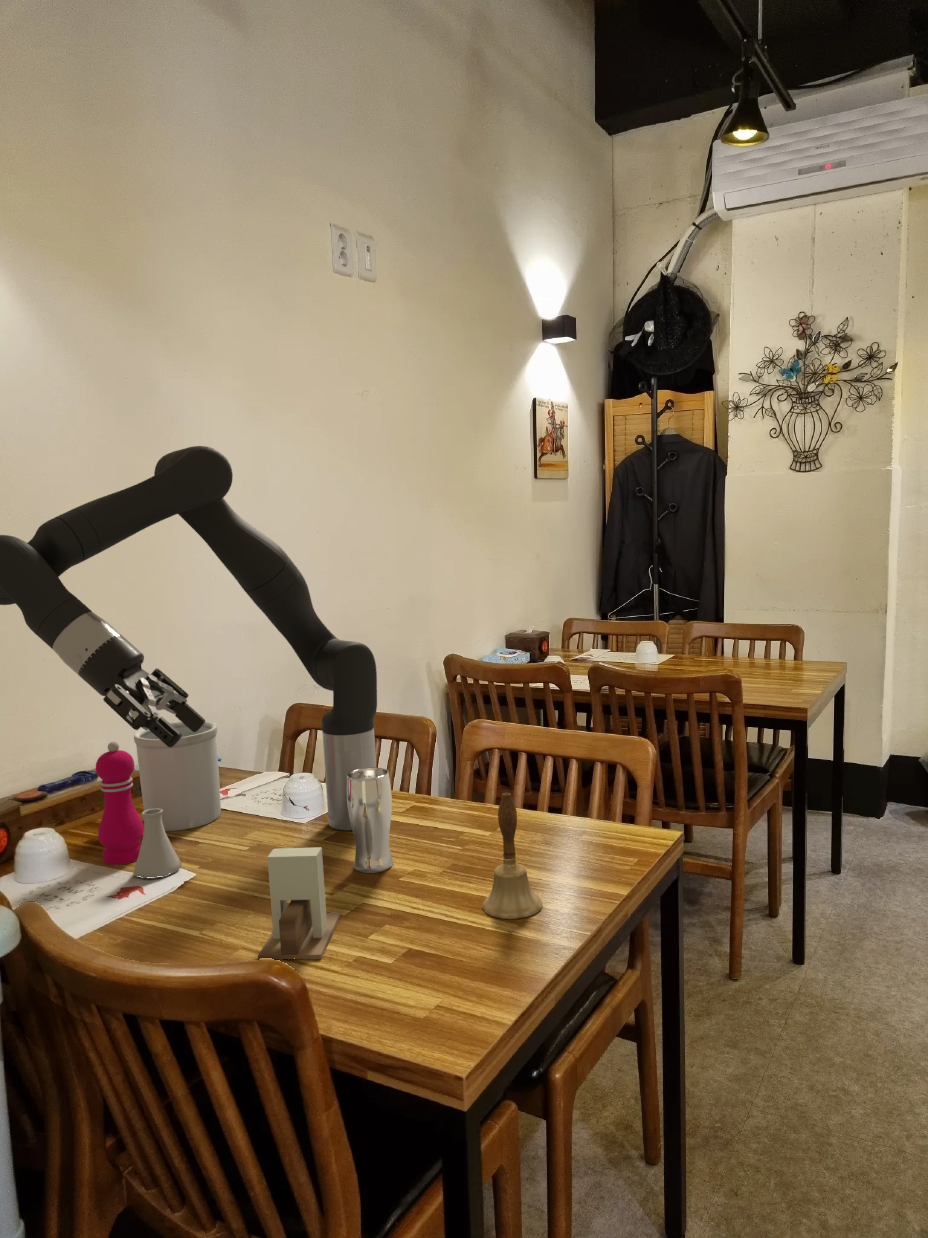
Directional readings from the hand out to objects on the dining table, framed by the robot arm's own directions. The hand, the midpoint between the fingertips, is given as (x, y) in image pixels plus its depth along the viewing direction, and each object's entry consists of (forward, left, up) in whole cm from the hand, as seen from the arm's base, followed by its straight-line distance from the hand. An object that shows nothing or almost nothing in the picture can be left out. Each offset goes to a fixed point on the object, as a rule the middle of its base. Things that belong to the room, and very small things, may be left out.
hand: (189, 734), depth 120 cm
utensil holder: (-11, -49, -27) cm, 57 cm away
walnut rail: (-9, +12, -27) cm, 31 cm away
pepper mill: (+3, -35, -27) cm, 44 cm away
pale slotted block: (-9, +12, -26) cm, 30 cm away
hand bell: (-36, +22, -27) cm, 50 cm away
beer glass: (-28, -4, -27) cm, 39 cm away
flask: (0, -25, -27) cm, 37 cm away
